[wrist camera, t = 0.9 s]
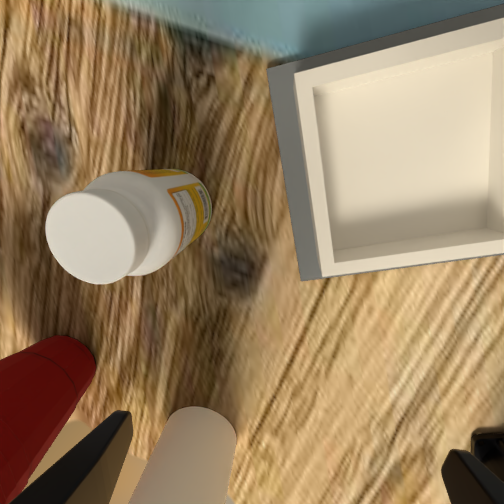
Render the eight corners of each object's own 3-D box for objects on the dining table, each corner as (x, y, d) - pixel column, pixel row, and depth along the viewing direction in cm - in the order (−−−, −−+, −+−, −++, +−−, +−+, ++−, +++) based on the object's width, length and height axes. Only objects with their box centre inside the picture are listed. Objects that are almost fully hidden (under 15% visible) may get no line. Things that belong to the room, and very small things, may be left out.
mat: (511, 250, 19) (517, 252, 18) (300, 278, 21) (301, 281, 21) (527, 0, 15) (534, -5, 14) (267, 71, 17) (266, 68, 17)
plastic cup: (30, 286, 24) (-193, 392, 13) (137, 349, 25) (12, 502, 14) (2, 368, 28) (-193, 507, 17) (97, 421, 29) (-30, 591, 17)
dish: (494, 235, 18) (532, 249, 15) (317, 260, 20) (322, 277, 17) (502, 34, 15) (552, 4, 12) (293, 88, 17) (294, 73, 14)
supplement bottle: (130, 210, 21) (8, 247, 12) (168, 152, 19) (59, 142, 10) (187, 255, 22) (112, 322, 12) (228, 201, 20) (176, 233, 11)
